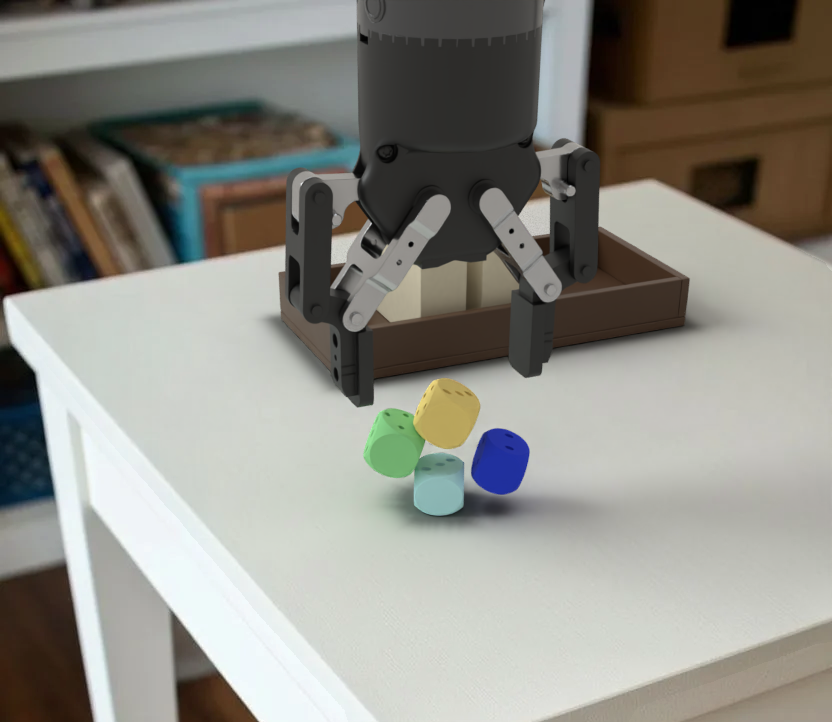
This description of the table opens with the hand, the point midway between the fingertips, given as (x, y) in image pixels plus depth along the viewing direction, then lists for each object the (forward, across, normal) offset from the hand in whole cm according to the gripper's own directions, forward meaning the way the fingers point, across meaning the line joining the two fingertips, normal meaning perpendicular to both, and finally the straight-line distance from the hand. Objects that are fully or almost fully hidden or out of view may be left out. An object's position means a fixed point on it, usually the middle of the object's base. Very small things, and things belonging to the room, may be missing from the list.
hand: (442, 385), depth 65 cm
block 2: (+6, -12, -21) cm, 25 cm away
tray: (+6, -12, -21) cm, 25 cm away
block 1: (+6, -8, -21) cm, 23 cm away
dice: (+6, 0, 0) cm, 6 cm away
